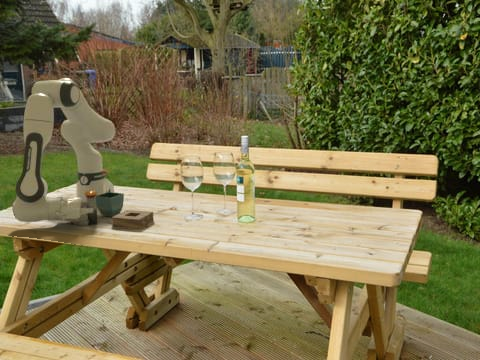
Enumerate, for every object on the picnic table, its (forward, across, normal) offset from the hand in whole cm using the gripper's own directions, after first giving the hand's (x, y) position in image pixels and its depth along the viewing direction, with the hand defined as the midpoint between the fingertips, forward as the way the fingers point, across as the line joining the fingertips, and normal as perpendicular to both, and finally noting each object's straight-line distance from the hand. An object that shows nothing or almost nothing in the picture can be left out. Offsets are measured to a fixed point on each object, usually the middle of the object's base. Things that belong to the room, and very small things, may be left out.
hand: (93, 206), depth 215 cm
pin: (-1, 0, +7) cm, 7 cm away
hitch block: (+15, -5, +7) cm, 17 cm away
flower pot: (+6, +12, +7) cm, 15 cm away
